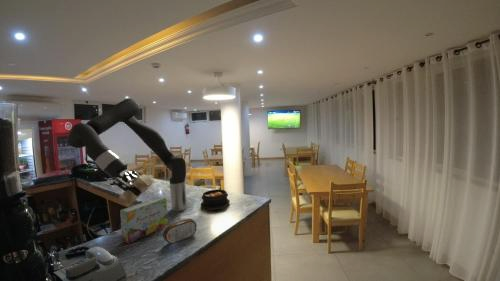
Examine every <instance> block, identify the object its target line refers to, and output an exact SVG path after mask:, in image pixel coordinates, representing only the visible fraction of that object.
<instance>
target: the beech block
mask: <svg viewBox="0 0 500 281" xmlns="http://www.w3.org/2000/svg"><path fill="white" fill-rule="evenodd" d="M153 183H154V181H153V180H152V179H150V177H148V176H147V175H146V174H145V173H143V174H142V175H140V177H138V178H137V179H136V180H135V181H134V182H133V183H132V184H133V185H134V186H135V187H136V188H137V189H138V190H140V191H141V194H140V195H139V196H136V195H135V194H133V193H132V192H131V191H128V190H127V191H123V193H122V194H121V195H119V197H118V199H119V200H120V201H121V202H122V203H123V204H124V205H125V206H127V207H130V205H132V204H133V203H135V202H136V201H137V200H138V199H139V197H140V196H142V195H143V193H145V192H146V191H147V190H148V189H147V188H149V187H150V186H151V185H152V184H153ZM146 189H147V190H146ZM145 190H146V191H145ZM144 191H145V192H144Z"/></svg>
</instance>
